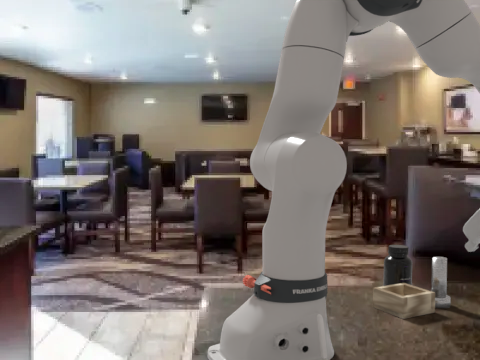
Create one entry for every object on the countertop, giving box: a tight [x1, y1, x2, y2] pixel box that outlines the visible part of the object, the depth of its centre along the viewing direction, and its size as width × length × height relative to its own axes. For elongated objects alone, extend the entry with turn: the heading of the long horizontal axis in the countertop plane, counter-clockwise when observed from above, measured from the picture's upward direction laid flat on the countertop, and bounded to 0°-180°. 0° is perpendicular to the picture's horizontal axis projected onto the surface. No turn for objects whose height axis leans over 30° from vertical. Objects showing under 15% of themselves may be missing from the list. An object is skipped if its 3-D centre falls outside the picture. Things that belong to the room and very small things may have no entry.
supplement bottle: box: [382, 244, 413, 286], centre depth 129 cm, size 7×7×12 cm
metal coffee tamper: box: [431, 256, 451, 309], centre depth 120 cm, size 5×5×11 cm
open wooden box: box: [372, 283, 436, 320], centre depth 116 cm, size 9×9×4 cm
